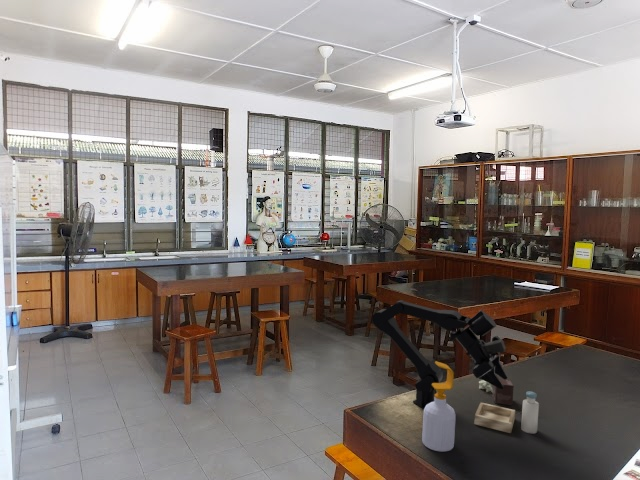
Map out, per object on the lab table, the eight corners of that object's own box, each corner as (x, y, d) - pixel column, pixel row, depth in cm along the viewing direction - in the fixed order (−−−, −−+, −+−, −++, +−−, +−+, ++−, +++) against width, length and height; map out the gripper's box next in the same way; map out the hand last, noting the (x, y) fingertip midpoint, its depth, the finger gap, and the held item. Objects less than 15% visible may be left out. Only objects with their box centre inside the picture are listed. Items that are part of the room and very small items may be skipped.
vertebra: (487, 395, 168) (486, 385, 168) (474, 390, 174) (473, 380, 174) (500, 392, 171) (499, 382, 171) (487, 387, 177) (486, 377, 177)
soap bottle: (418, 436, 137) (422, 357, 135) (447, 435, 138) (451, 357, 136) (427, 452, 128) (431, 369, 126) (458, 452, 129) (463, 368, 127)
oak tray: (474, 424, 146) (474, 415, 145) (480, 410, 155) (480, 402, 155) (510, 433, 140) (511, 424, 140) (514, 418, 150) (515, 410, 150)
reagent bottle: (530, 434, 140) (532, 397, 139) (517, 428, 144) (520, 391, 143) (540, 431, 142) (542, 394, 141) (527, 425, 146) (529, 389, 145)
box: (512, 405, 160) (514, 385, 160) (494, 403, 161) (496, 383, 161) (509, 398, 166) (510, 379, 165) (491, 396, 167) (493, 377, 167)
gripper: (486, 337, 138) (522, 380, 134) (495, 323, 155) (527, 361, 151) (458, 357, 143) (492, 399, 139) (469, 341, 159) (500, 379, 155)
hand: (504, 383), depth 146 cm, fingers open, 9 cm apart
